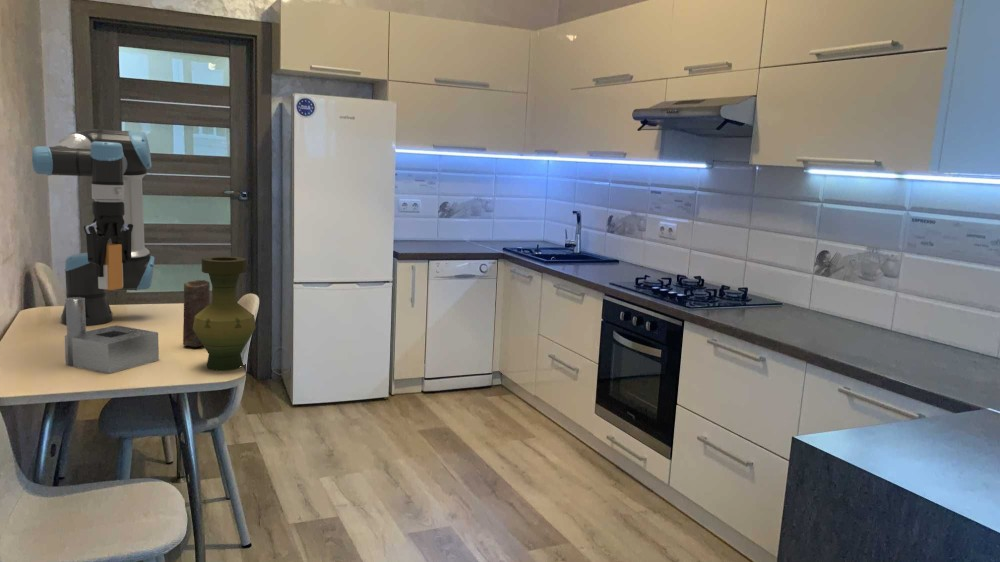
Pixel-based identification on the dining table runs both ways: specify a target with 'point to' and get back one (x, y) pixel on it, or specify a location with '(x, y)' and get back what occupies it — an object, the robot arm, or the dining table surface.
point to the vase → (224, 315)
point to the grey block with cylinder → (105, 343)
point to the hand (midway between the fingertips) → (110, 287)
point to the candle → (194, 308)
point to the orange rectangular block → (114, 266)
